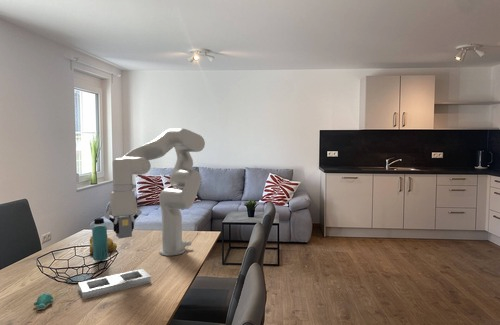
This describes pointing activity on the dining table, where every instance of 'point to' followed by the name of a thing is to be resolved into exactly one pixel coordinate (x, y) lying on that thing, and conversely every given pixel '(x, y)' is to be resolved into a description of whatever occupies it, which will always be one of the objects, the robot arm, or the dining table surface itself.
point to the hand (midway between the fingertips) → (123, 231)
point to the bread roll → (111, 245)
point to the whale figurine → (43, 301)
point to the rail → (113, 283)
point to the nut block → (124, 227)
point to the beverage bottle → (100, 240)
